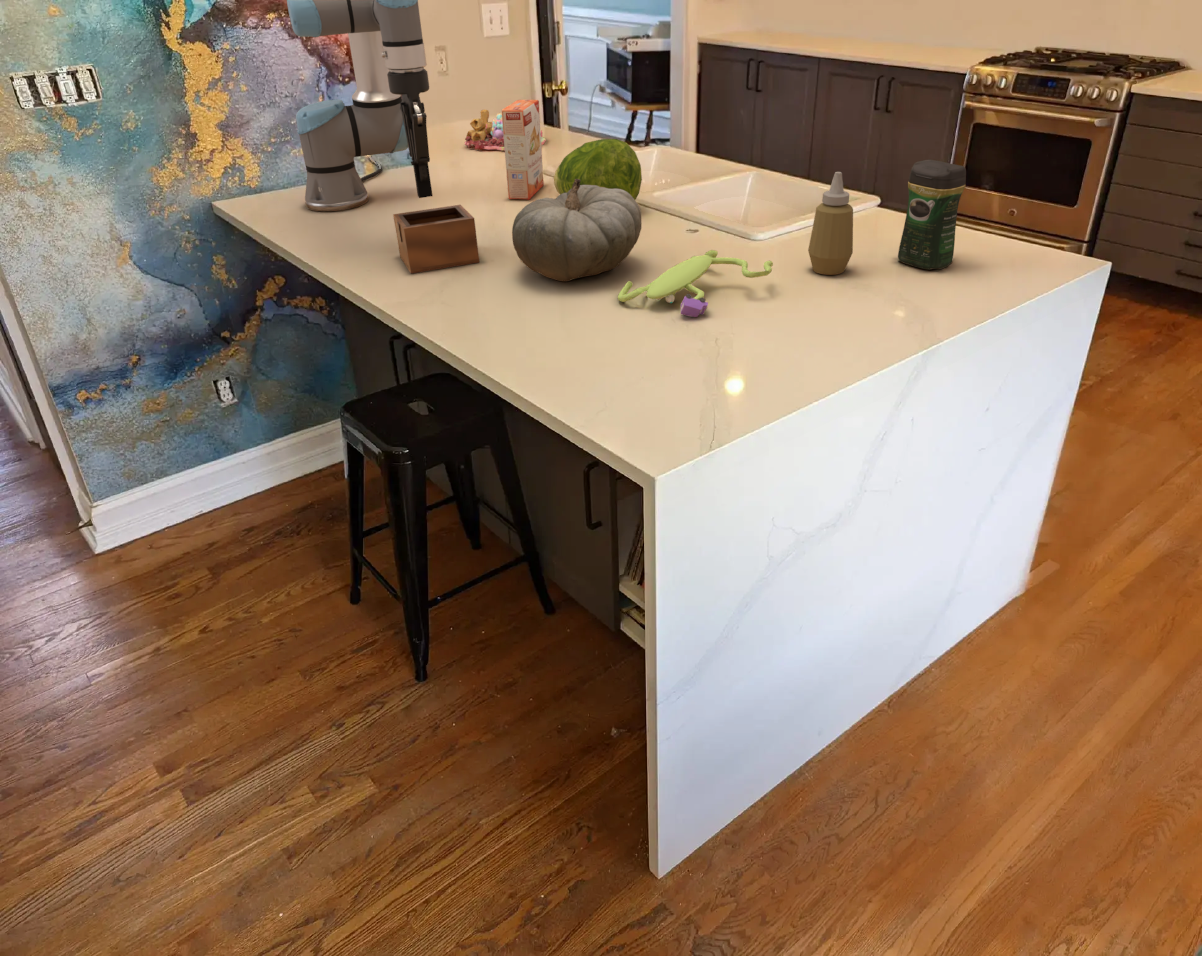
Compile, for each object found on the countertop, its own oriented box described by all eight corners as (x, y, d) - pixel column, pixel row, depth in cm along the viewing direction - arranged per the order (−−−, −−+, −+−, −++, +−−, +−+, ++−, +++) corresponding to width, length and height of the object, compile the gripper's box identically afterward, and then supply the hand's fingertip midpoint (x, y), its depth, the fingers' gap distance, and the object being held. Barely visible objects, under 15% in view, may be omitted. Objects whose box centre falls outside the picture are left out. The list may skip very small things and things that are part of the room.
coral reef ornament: (455, 152, 265) (451, 119, 260) (477, 135, 285) (474, 104, 280) (536, 151, 261) (534, 118, 256) (553, 134, 281) (551, 103, 276)
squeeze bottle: (825, 281, 163) (835, 180, 153) (797, 268, 169) (805, 171, 159) (859, 272, 166) (871, 173, 156) (831, 260, 172) (841, 164, 162)
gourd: (674, 252, 171) (657, 163, 162) (585, 310, 159) (560, 217, 149) (587, 240, 188) (566, 158, 178) (500, 291, 176) (472, 207, 166)
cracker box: (531, 200, 217) (524, 109, 205) (507, 200, 218) (499, 109, 207) (545, 185, 228) (539, 98, 217) (523, 185, 229) (515, 98, 218)
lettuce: (573, 227, 218) (599, 167, 218) (634, 230, 200) (663, 164, 201) (523, 191, 207) (551, 128, 207) (583, 191, 189) (613, 121, 190)
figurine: (786, 289, 160) (788, 259, 157) (675, 329, 146) (675, 297, 143) (715, 264, 172) (715, 236, 169) (606, 299, 159) (605, 269, 156)
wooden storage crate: (392, 214, 179) (402, 228, 170) (461, 204, 183) (475, 217, 174) (399, 257, 184) (410, 273, 175) (466, 247, 188) (480, 262, 179)
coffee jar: (959, 265, 167) (977, 163, 157) (931, 274, 163) (948, 170, 153) (917, 252, 174) (932, 154, 164) (889, 261, 170) (903, 161, 160)
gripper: (380, 67, 171) (400, 191, 184) (393, 75, 161) (413, 206, 173) (419, 63, 173) (436, 186, 186) (434, 71, 163) (450, 201, 176)
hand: (425, 196), depth 180 cm, fingers closed
